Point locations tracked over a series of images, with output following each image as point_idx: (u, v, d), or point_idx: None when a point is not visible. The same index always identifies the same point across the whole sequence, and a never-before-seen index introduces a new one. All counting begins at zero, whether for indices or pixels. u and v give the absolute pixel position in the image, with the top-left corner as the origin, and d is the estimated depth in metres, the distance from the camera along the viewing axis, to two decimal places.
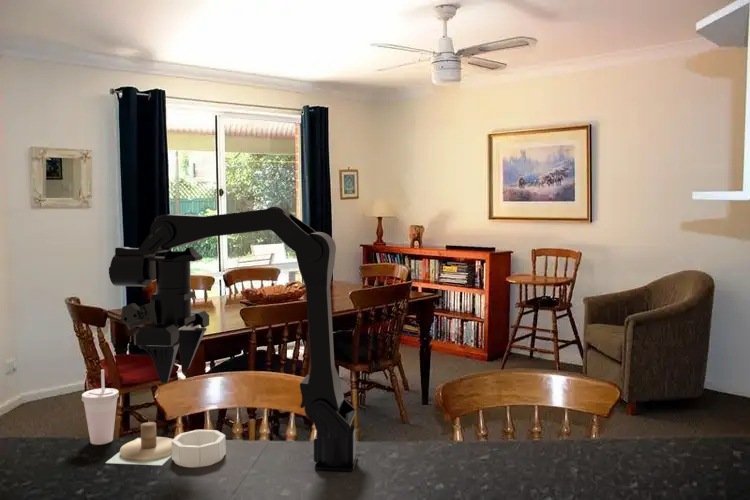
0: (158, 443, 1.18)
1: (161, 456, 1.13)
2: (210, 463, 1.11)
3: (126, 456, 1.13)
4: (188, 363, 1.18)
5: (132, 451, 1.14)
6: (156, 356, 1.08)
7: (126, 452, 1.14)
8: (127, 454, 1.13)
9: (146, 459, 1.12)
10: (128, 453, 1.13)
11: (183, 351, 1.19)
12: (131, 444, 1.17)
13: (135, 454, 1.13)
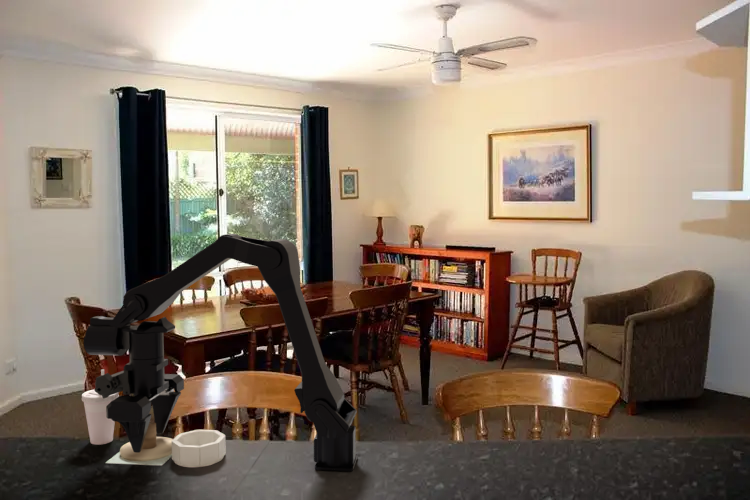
0: (158, 443, 1.18)
1: (161, 456, 1.13)
2: (210, 463, 1.11)
3: (126, 456, 1.13)
4: (162, 428, 1.21)
5: (132, 451, 1.14)
6: (128, 427, 1.10)
7: (126, 452, 1.14)
8: (127, 454, 1.13)
9: (146, 459, 1.12)
10: (128, 453, 1.13)
11: (157, 416, 1.21)
12: None
13: (135, 454, 1.13)
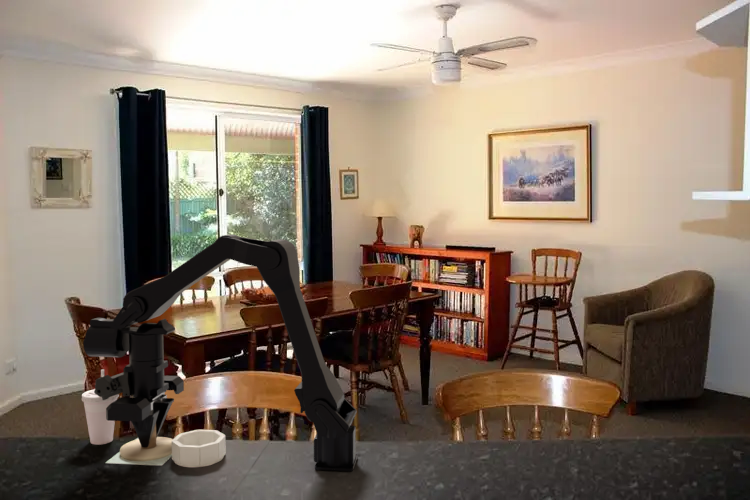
0: (158, 443, 1.18)
1: (161, 456, 1.13)
2: (210, 463, 1.11)
3: (126, 456, 1.13)
4: None
5: (132, 451, 1.14)
6: (137, 423, 1.14)
7: (126, 452, 1.14)
8: (127, 454, 1.13)
9: (146, 459, 1.12)
10: (128, 453, 1.13)
11: None
12: (131, 444, 1.18)
13: (135, 454, 1.13)
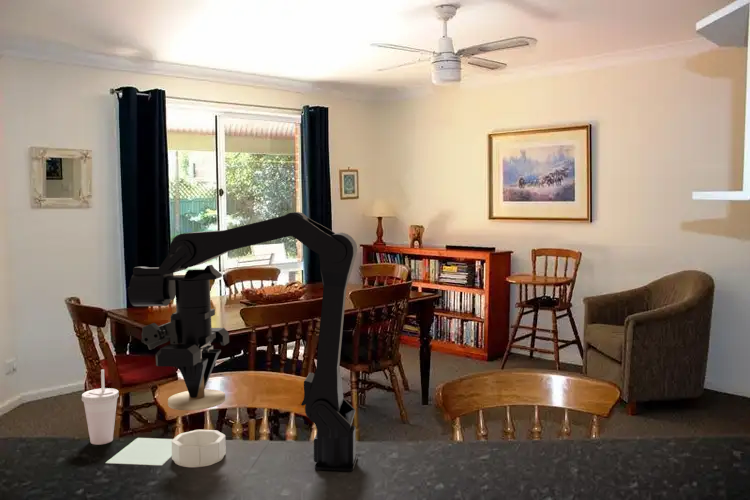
0: (206, 394, 1.15)
1: (211, 405, 1.10)
2: (210, 463, 1.11)
3: (175, 405, 1.09)
4: None
5: (180, 401, 1.11)
6: (185, 372, 1.10)
7: (175, 402, 1.10)
8: (176, 404, 1.09)
9: (196, 408, 1.09)
10: (176, 403, 1.10)
11: None
12: (178, 396, 1.14)
13: (184, 403, 1.09)
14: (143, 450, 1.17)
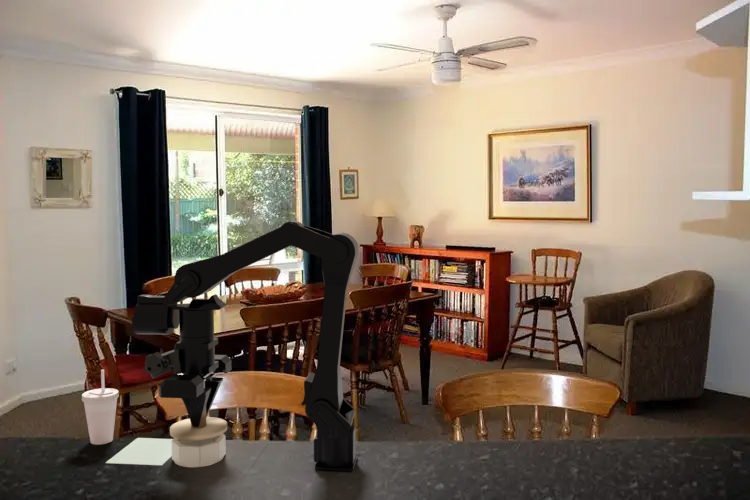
0: (208, 423, 1.15)
1: (213, 435, 1.10)
2: (210, 463, 1.11)
3: (177, 435, 1.09)
4: None
5: (182, 430, 1.11)
6: (188, 401, 1.10)
7: (177, 431, 1.11)
8: (178, 433, 1.10)
9: (198, 438, 1.09)
10: (179, 432, 1.10)
11: None
12: (180, 424, 1.14)
13: (186, 433, 1.10)
14: (143, 450, 1.17)
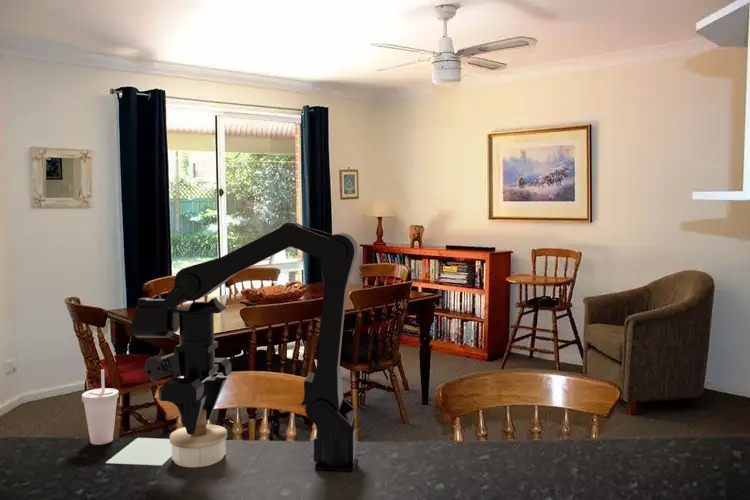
0: (207, 430, 1.15)
1: (213, 443, 1.10)
2: (210, 463, 1.11)
3: (177, 443, 1.09)
4: (209, 414, 1.17)
5: (182, 438, 1.11)
6: (183, 408, 1.08)
7: (177, 439, 1.11)
8: (178, 441, 1.10)
9: (198, 446, 1.09)
10: (179, 440, 1.10)
11: (204, 402, 1.17)
12: (180, 431, 1.14)
13: (186, 441, 1.10)
14: (143, 450, 1.17)
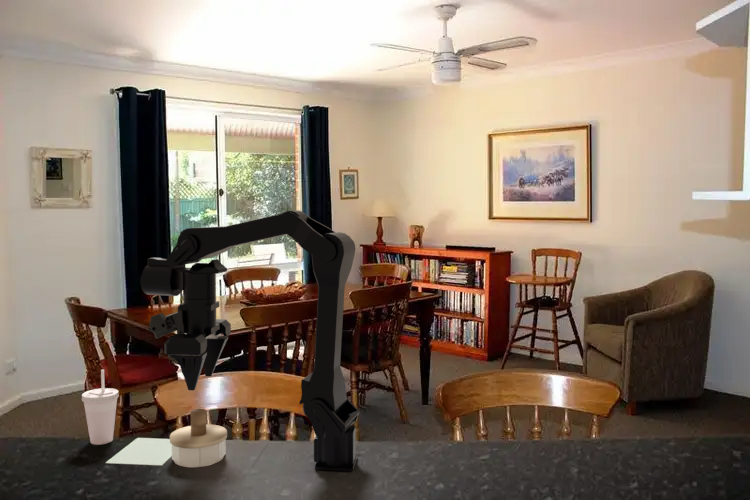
0: (207, 430, 1.15)
1: (213, 443, 1.10)
2: (210, 463, 1.11)
3: (177, 443, 1.09)
4: (211, 370, 1.23)
5: (182, 438, 1.11)
6: (184, 365, 1.12)
7: (177, 439, 1.11)
8: (178, 441, 1.10)
9: (198, 446, 1.09)
10: (179, 440, 1.10)
11: (206, 359, 1.23)
12: (180, 431, 1.14)
13: (186, 441, 1.10)
14: (143, 450, 1.17)
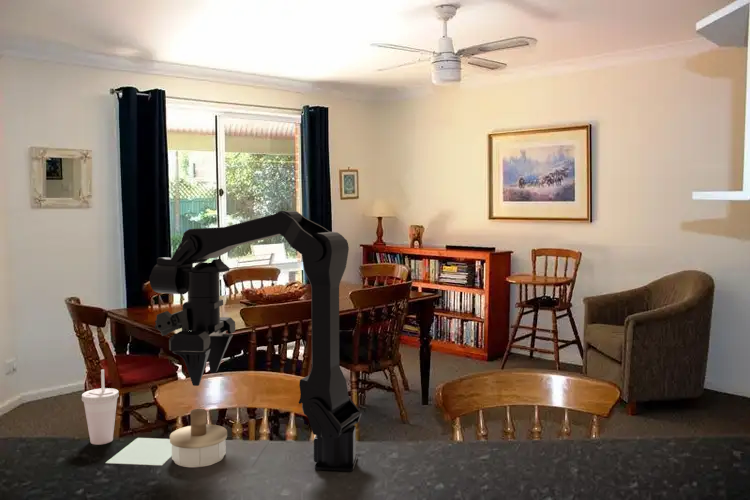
0: (207, 430, 1.15)
1: (213, 443, 1.10)
2: (210, 463, 1.11)
3: (177, 443, 1.09)
4: (216, 367, 1.26)
5: (182, 438, 1.11)
6: (189, 361, 1.16)
7: (177, 439, 1.11)
8: (178, 441, 1.10)
9: (198, 446, 1.09)
10: (179, 440, 1.10)
11: (211, 356, 1.27)
12: (180, 431, 1.14)
13: (186, 441, 1.10)
14: (143, 450, 1.17)
